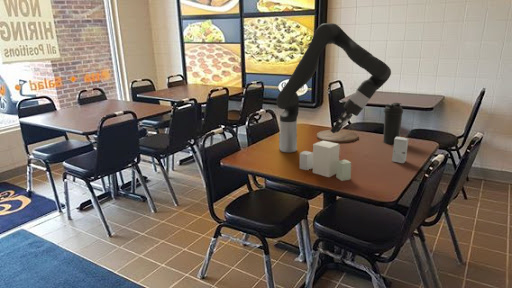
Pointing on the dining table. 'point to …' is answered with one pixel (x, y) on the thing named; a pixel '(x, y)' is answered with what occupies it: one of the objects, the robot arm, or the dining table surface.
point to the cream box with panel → (325, 158)
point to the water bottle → (392, 122)
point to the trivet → (337, 136)
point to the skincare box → (400, 149)
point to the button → (339, 150)
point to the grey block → (306, 160)
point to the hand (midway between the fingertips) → (334, 131)
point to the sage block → (343, 170)
